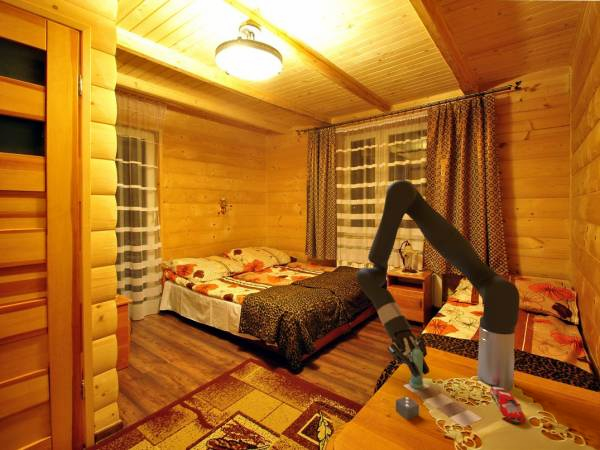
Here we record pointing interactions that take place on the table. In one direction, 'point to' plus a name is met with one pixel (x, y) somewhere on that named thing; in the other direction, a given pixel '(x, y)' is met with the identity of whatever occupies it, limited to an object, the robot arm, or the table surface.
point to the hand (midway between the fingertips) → (422, 374)
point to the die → (407, 408)
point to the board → (449, 409)
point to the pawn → (418, 360)
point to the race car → (507, 405)
